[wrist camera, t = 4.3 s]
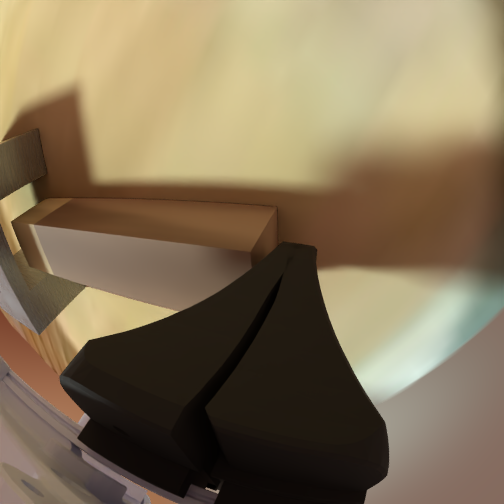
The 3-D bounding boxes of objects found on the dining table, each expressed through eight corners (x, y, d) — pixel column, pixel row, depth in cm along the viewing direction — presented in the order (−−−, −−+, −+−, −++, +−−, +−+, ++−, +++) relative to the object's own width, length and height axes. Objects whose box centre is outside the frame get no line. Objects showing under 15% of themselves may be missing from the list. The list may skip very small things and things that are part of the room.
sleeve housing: (85, 287, 18) (39, 335, 14) (41, 271, 20) (1, 308, 16) (37, 128, 12) (-35, 162, 8) (0, 142, 14) (-55, 171, 10)
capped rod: (277, 274, 12) (256, 328, 10) (61, 240, 16) (29, 266, 14) (276, 206, 10) (250, 252, 8) (46, 198, 14) (10, 221, 12)
